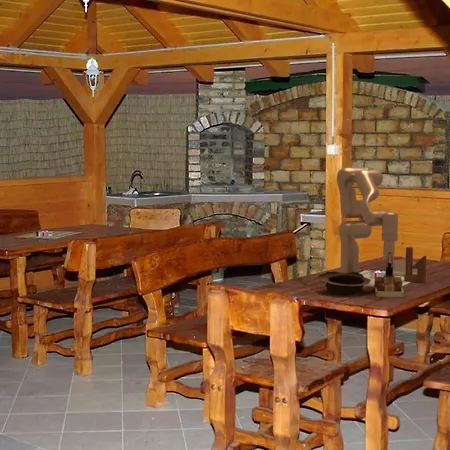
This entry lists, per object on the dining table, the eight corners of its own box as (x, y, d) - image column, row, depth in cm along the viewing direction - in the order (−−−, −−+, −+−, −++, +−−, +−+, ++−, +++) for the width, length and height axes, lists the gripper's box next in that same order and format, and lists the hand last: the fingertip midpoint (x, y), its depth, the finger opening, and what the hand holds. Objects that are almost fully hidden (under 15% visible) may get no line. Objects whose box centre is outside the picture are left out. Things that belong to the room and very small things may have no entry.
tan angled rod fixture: (423, 283, 431) (424, 248, 429) (403, 281, 437) (404, 247, 435) (425, 282, 434) (426, 248, 432) (406, 280, 440) (407, 246, 438)
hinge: (386, 275, 455) (389, 257, 457) (389, 277, 459) (391, 259, 461) (416, 277, 447) (418, 259, 449) (418, 279, 451) (421, 261, 453)
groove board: (375, 292, 406) (375, 281, 405) (374, 287, 419) (374, 276, 418) (402, 292, 404) (402, 281, 403) (400, 288, 417) (400, 277, 416)
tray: (375, 296, 394) (376, 291, 394) (375, 292, 406) (375, 287, 405) (403, 297, 392) (403, 292, 392) (402, 292, 404) (402, 287, 404)
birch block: (384, 293, 401) (385, 294, 397) (384, 284, 400) (385, 286, 396) (393, 293, 400) (393, 294, 396) (393, 285, 400) (393, 286, 396)
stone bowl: (330, 285, 423) (332, 267, 422) (376, 293, 411) (378, 275, 410) (310, 292, 402) (311, 274, 401) (358, 301, 390) (360, 282, 388)
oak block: (384, 289, 401) (384, 277, 400) (384, 288, 405) (384, 276, 404) (392, 290, 400) (393, 277, 399) (392, 288, 404) (392, 276, 403)
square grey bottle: (384, 283, 404) (384, 255, 402) (383, 282, 407) (384, 254, 406) (394, 284, 403) (395, 255, 401) (394, 282, 406) (394, 254, 405)
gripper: (381, 235, 411) (380, 272, 413) (382, 239, 395) (381, 277, 397) (396, 235, 410) (395, 272, 412) (398, 239, 394) (397, 277, 396)
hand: (389, 274), depth 405 cm, fingers closed on square grey bottle, 3 cm apart
